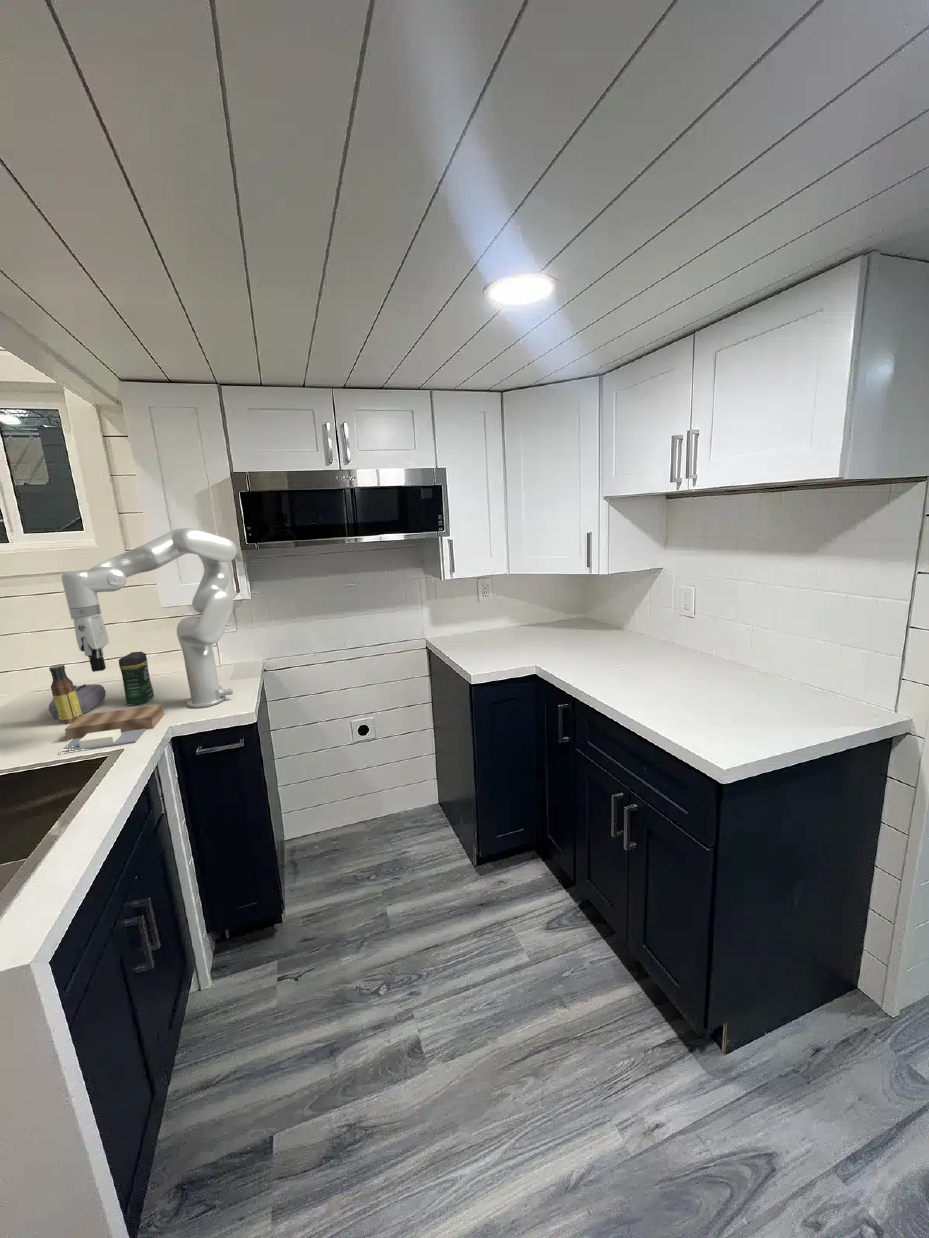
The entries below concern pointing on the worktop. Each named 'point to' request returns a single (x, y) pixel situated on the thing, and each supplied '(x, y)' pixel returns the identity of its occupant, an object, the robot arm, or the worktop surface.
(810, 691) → the worktop surface
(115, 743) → the grey mat
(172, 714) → the worktop surface
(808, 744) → the worktop surface
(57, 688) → the sauce bottle
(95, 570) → the robot arm
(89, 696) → the small grey backpack
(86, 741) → the cream tile
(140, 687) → the coffee jar
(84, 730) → the walnut board
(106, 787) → the worktop surface
